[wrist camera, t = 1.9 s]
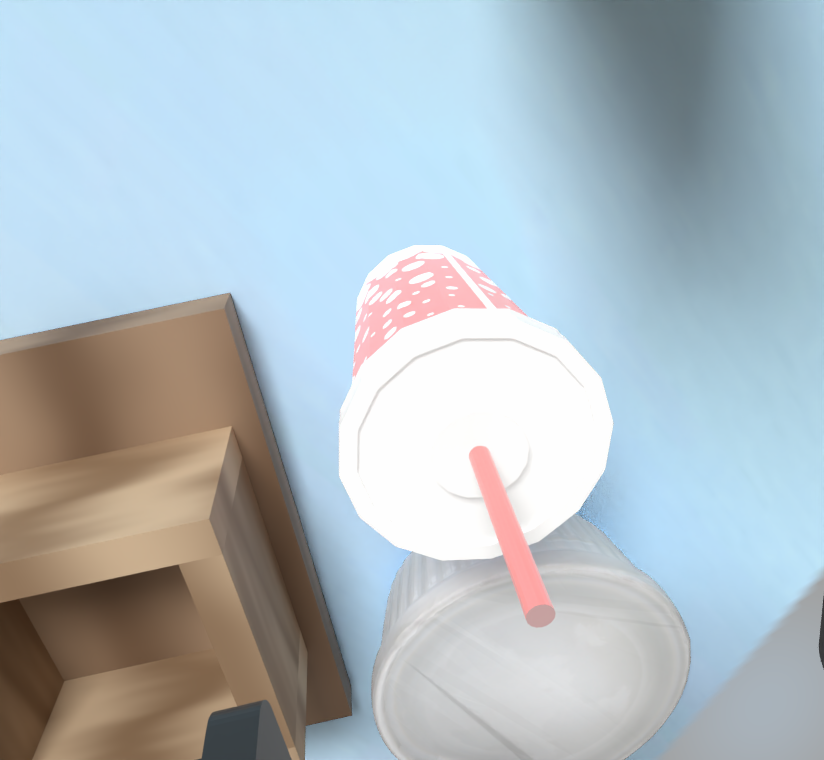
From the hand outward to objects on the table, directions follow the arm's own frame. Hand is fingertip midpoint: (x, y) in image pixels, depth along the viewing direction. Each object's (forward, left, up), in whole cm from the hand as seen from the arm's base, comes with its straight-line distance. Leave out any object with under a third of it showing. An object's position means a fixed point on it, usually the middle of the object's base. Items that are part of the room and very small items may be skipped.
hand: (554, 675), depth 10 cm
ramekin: (-1, +13, -15) cm, 20 cm away
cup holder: (+12, +7, -15) cm, 20 cm away
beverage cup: (0, 0, -15) cm, 15 cm away
